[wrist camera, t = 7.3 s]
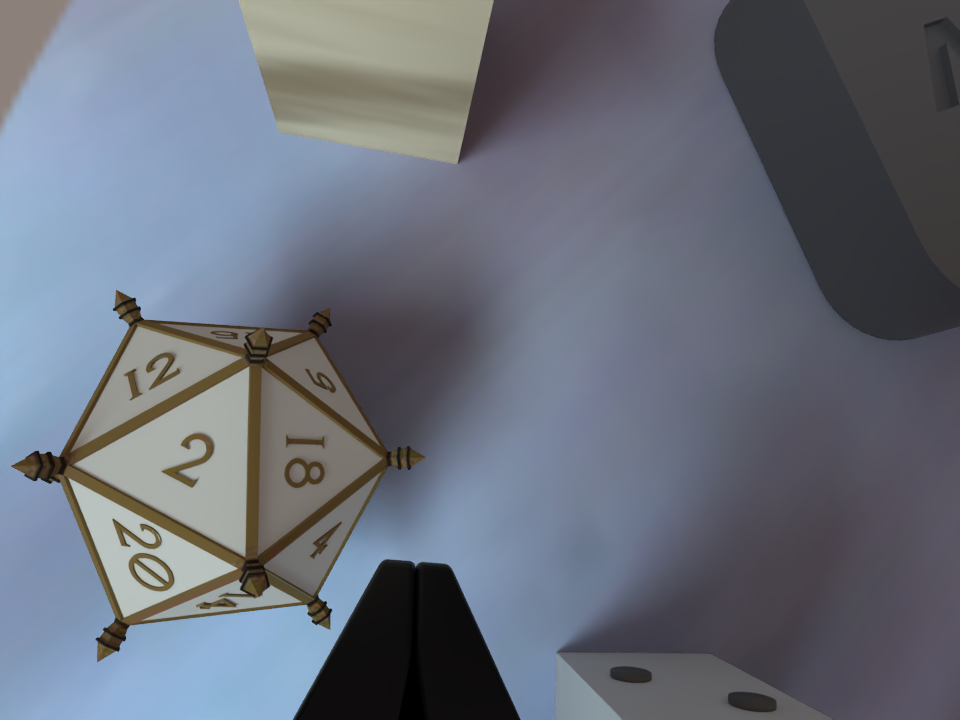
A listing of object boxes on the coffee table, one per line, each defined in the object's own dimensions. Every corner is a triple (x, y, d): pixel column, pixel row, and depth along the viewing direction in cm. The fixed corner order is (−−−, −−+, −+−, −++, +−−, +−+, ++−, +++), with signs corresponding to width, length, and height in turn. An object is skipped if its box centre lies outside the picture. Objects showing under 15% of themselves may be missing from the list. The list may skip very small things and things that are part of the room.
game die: (321, 501, 25) (419, 729, 17) (40, 515, 21) (-12, 825, 13) (362, 258, 22) (505, 389, 14) (48, 221, 18) (-13, 373, 10)
